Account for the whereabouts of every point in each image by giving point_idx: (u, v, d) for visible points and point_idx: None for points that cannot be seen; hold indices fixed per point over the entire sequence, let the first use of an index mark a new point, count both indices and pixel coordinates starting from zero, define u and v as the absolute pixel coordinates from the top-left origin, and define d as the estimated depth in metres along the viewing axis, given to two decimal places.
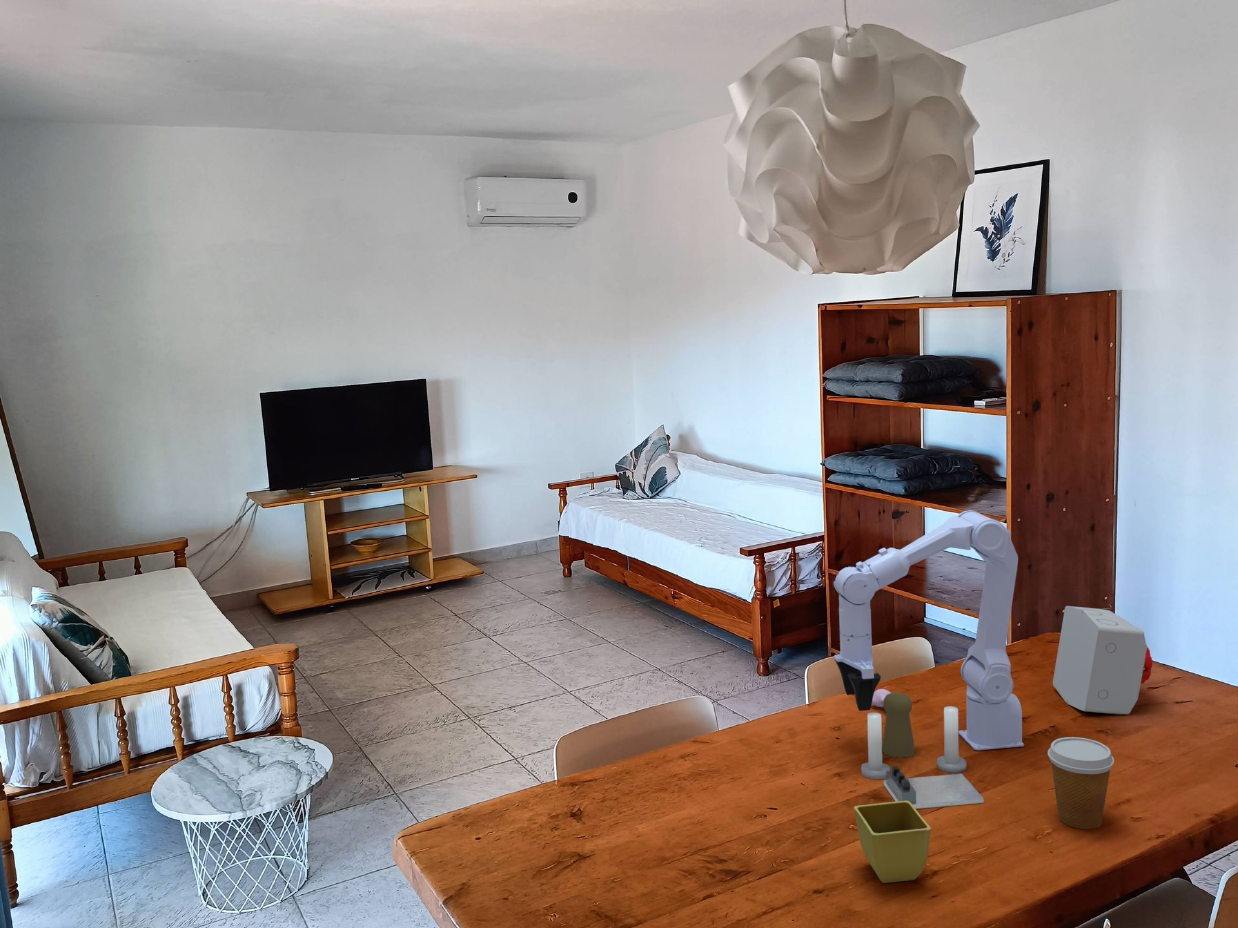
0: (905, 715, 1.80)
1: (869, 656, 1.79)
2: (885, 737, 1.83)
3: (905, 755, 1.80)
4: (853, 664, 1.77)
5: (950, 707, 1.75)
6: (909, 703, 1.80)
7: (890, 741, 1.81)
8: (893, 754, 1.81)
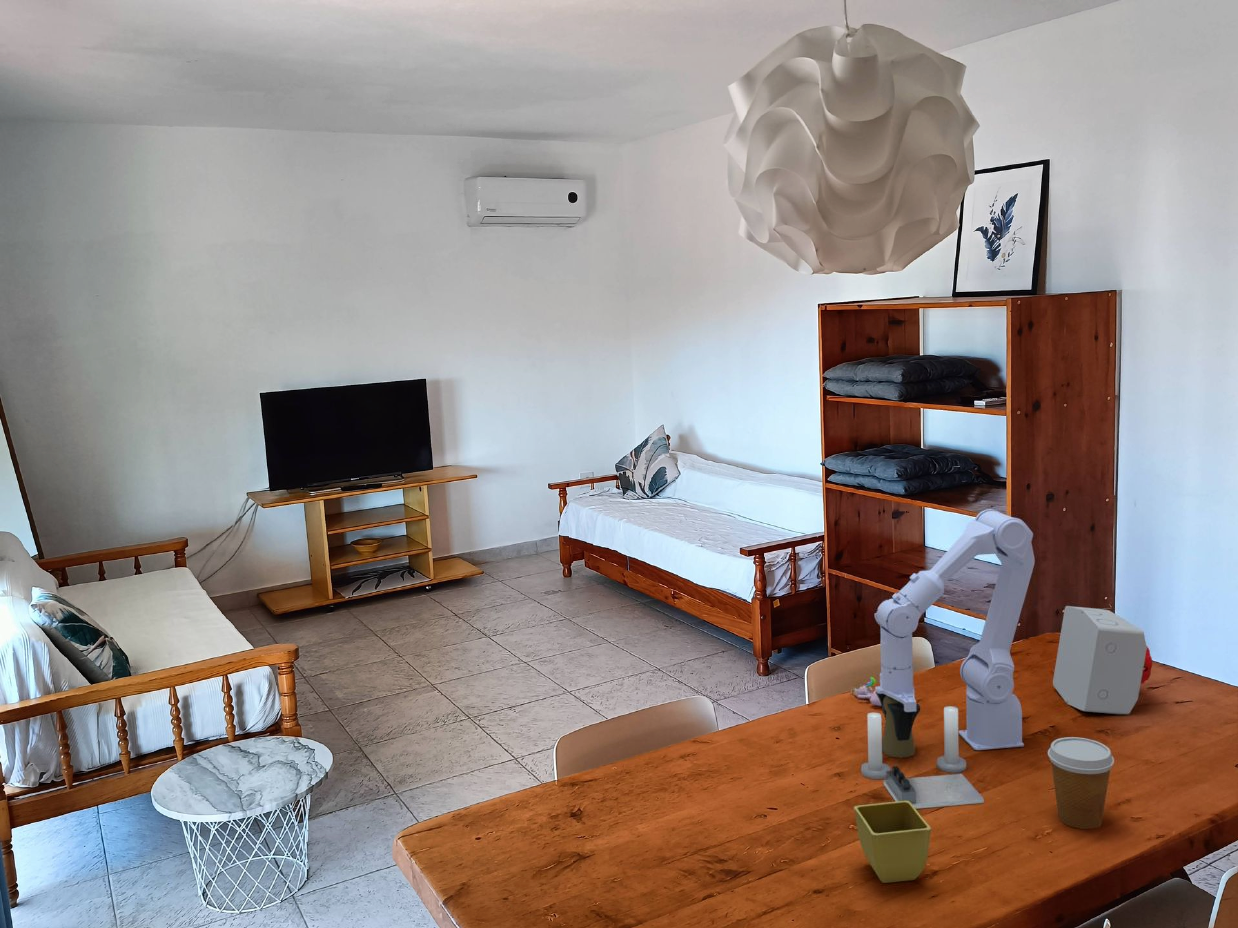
0: None
1: (910, 688, 1.79)
2: (885, 737, 1.83)
3: (905, 755, 1.80)
4: (895, 696, 1.78)
5: (950, 707, 1.75)
6: None
7: (890, 741, 1.81)
8: (893, 754, 1.81)
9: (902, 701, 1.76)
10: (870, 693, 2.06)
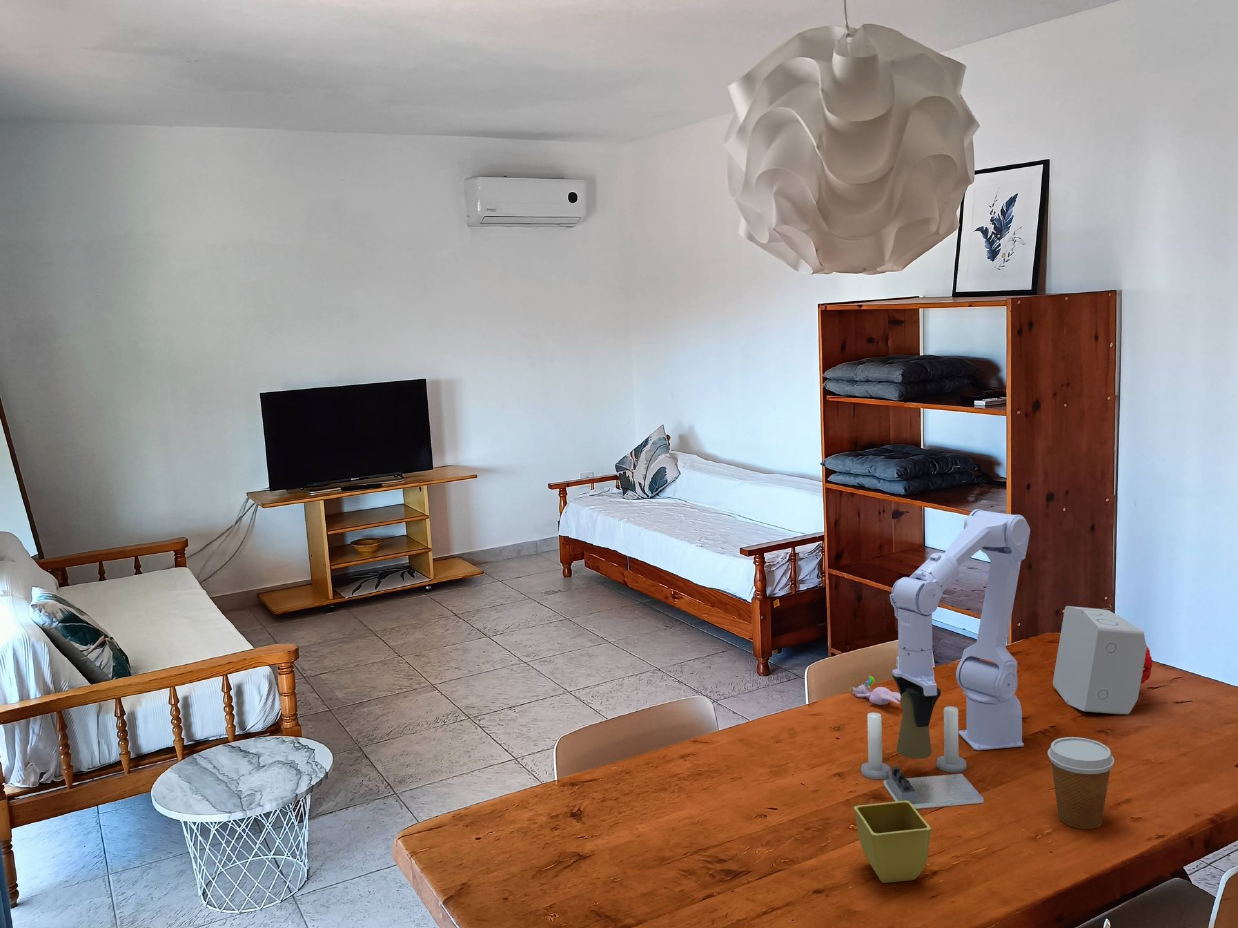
0: None
1: (930, 671, 1.69)
2: (900, 736, 1.72)
3: (921, 756, 1.70)
4: (914, 680, 1.67)
5: (950, 707, 1.75)
6: None
7: (905, 741, 1.71)
8: (908, 755, 1.71)
9: (921, 684, 1.65)
10: (869, 692, 2.07)
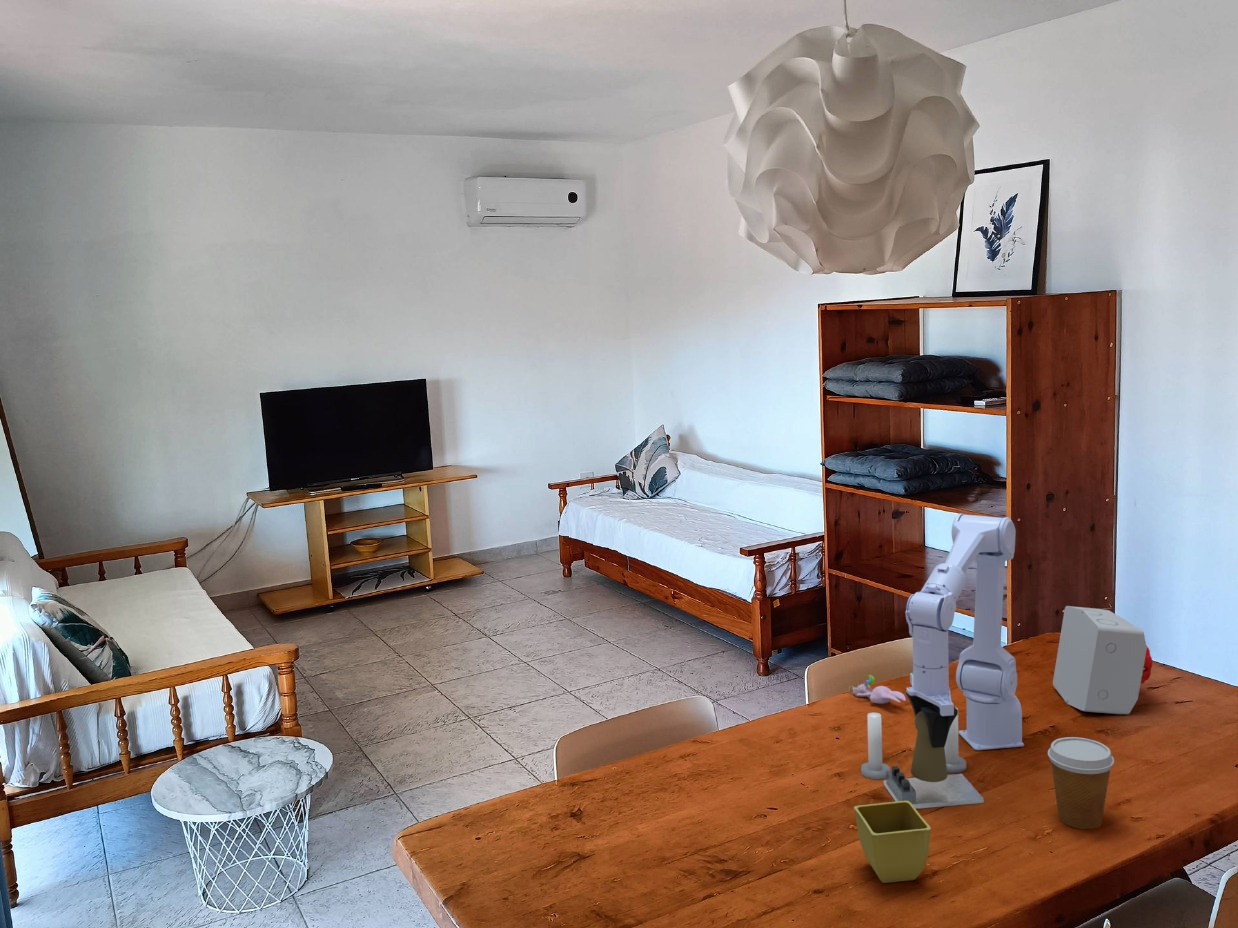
0: None
1: (946, 690, 1.62)
2: (915, 758, 1.65)
3: (937, 779, 1.63)
4: (929, 699, 1.60)
5: None
6: None
7: (920, 763, 1.64)
8: (923, 778, 1.64)
9: (938, 704, 1.58)
10: (869, 691, 2.07)
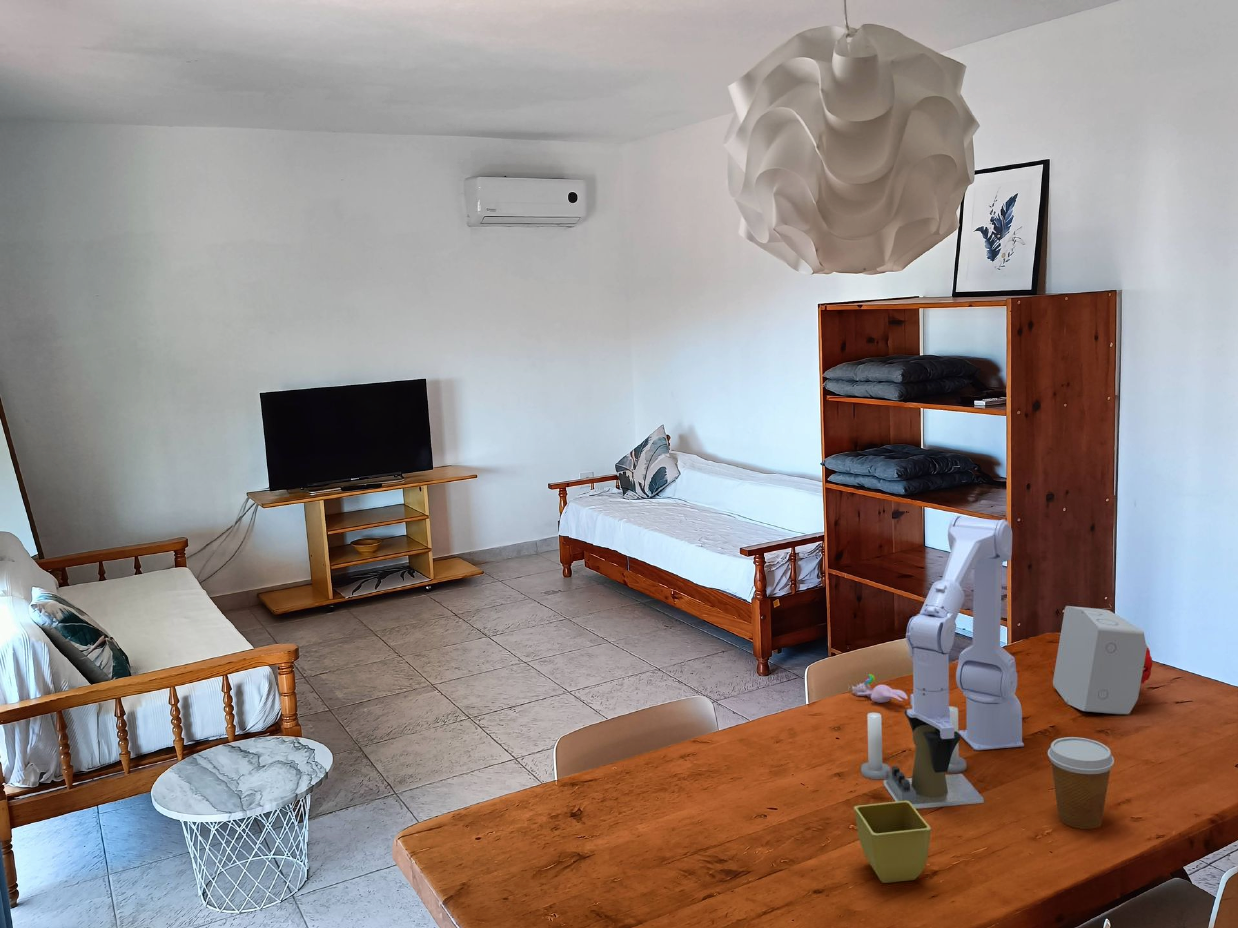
0: None
1: (946, 712, 1.62)
2: (915, 774, 1.66)
3: (937, 794, 1.64)
4: (930, 721, 1.60)
5: (950, 707, 1.75)
6: None
7: (920, 779, 1.65)
8: (924, 793, 1.64)
9: (938, 727, 1.59)
10: (869, 690, 2.08)
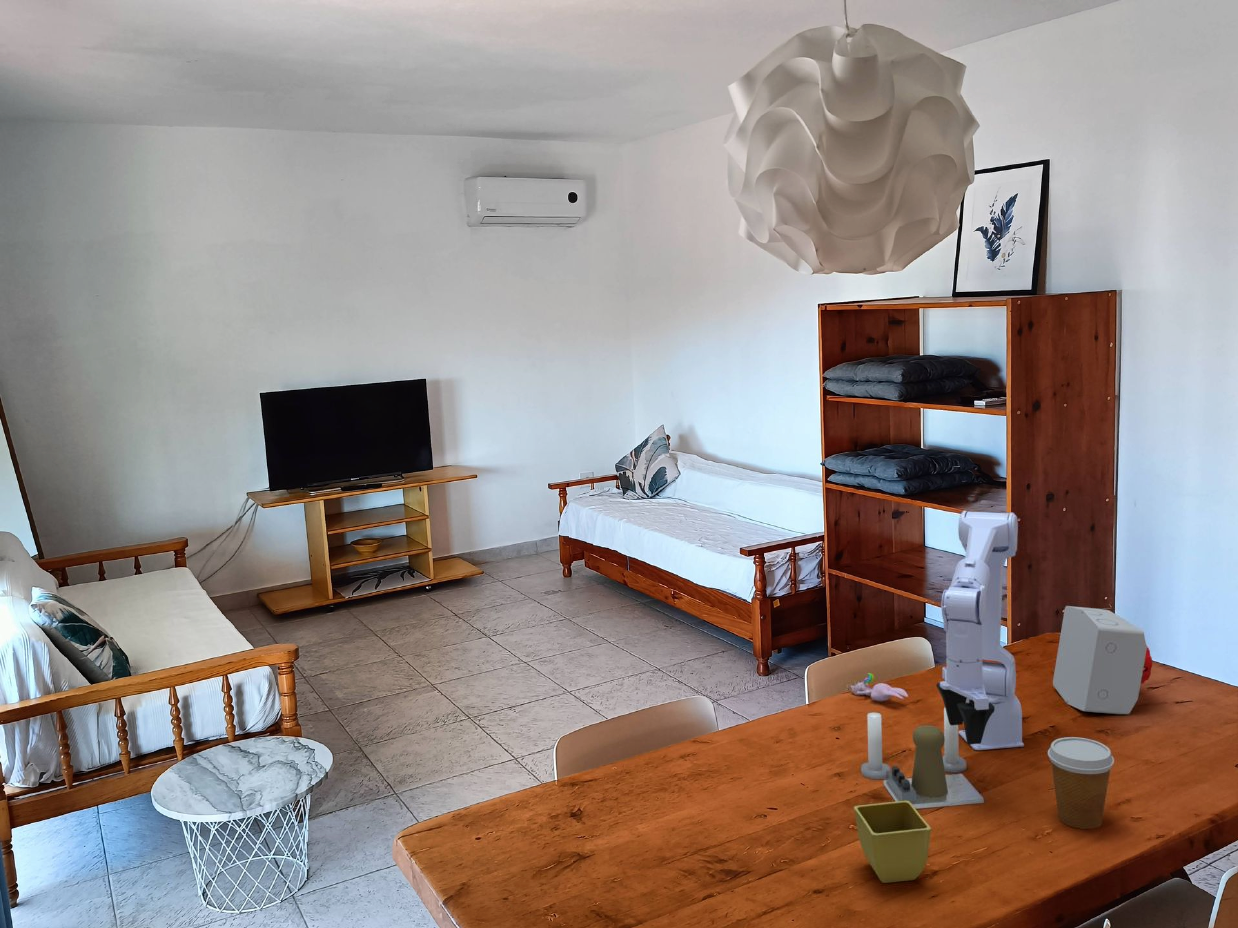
0: (937, 750, 1.64)
1: (980, 684, 1.62)
2: (915, 774, 1.66)
3: (937, 794, 1.64)
4: (963, 693, 1.60)
5: None
6: (942, 737, 1.64)
7: (920, 779, 1.65)
8: (924, 793, 1.64)
9: (972, 698, 1.58)
10: (868, 689, 2.09)
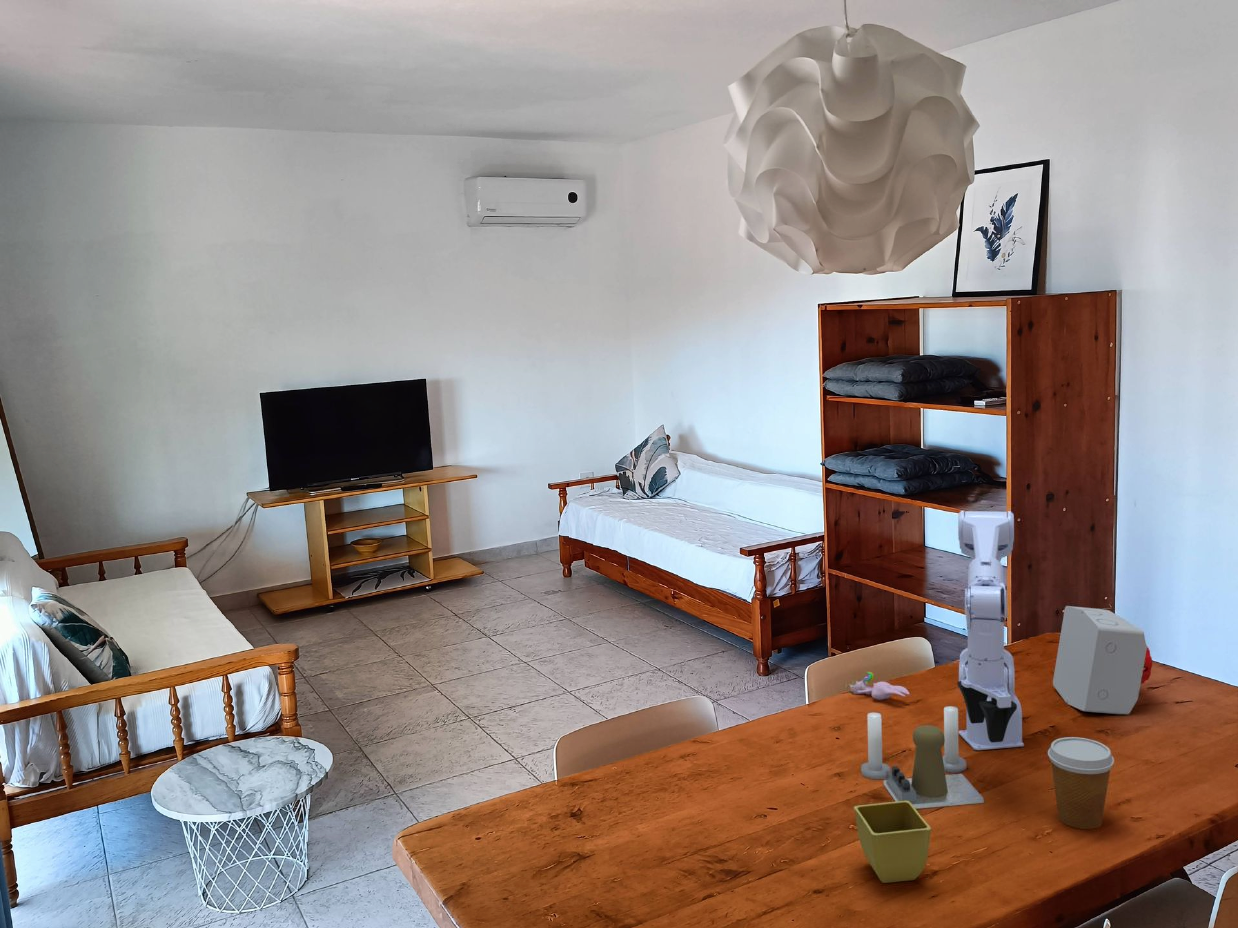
0: (937, 750, 1.64)
1: (1002, 682, 1.62)
2: (915, 774, 1.66)
3: (937, 794, 1.64)
4: (986, 691, 1.60)
5: (950, 707, 1.75)
6: (942, 737, 1.63)
7: (920, 779, 1.65)
8: (924, 793, 1.64)
9: (995, 696, 1.58)
10: (868, 688, 2.09)
